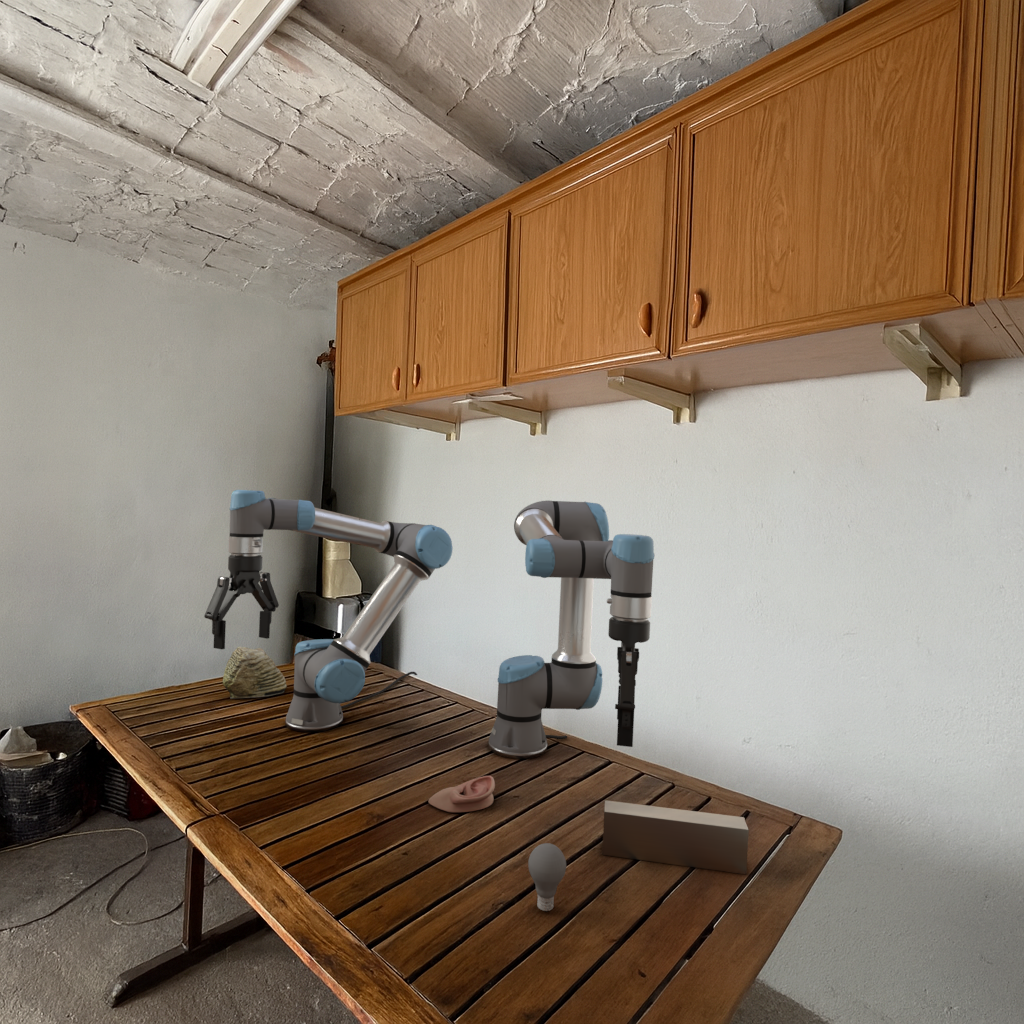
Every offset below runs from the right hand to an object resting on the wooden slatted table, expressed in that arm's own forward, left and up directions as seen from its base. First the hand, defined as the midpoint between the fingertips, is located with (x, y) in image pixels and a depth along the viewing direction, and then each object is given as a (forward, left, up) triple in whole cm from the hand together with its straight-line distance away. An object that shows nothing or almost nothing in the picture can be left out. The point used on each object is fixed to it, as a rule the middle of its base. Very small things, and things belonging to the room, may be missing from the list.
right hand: (624, 732), depth 118 cm
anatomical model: (+20, -29, -22) cm, 41 cm away
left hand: (+60, -70, +5) cm, 92 cm away
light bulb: (+21, +9, -22) cm, 32 cm away
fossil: (+53, -117, -22) cm, 130 cm away
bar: (-8, +6, -22) cm, 24 cm away
